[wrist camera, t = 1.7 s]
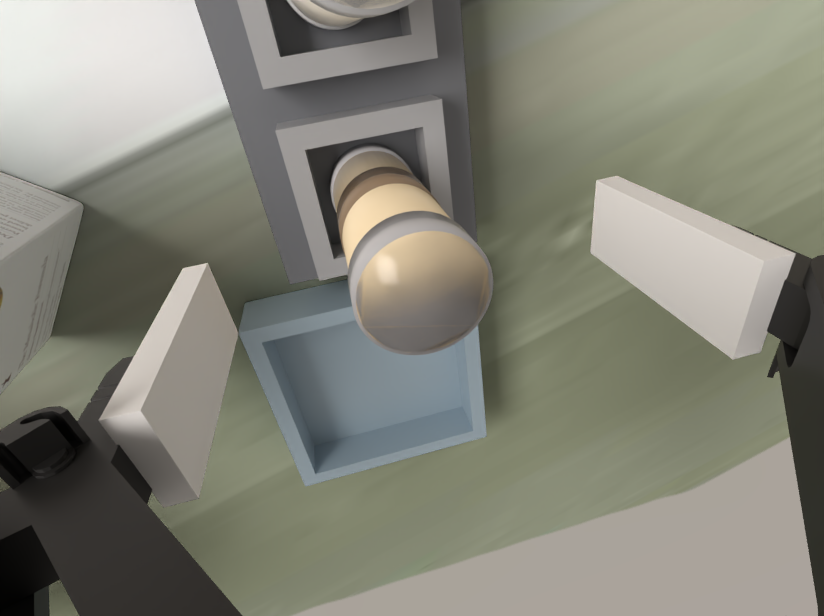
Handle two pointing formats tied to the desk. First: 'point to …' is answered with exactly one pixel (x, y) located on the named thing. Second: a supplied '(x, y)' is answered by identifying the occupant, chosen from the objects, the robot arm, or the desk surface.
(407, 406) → the parts tray
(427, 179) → the fuse holder
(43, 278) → the supplement box
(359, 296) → the fuse
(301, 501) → the desk surface
